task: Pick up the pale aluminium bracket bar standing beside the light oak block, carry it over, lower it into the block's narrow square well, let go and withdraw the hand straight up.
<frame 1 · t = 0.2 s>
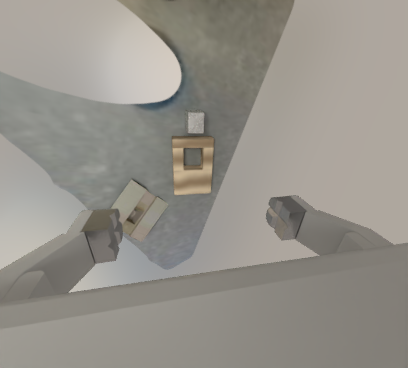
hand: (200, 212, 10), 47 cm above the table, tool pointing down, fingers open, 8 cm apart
beige slotted box: (139, 203, 62), on the table
metal bracket bar: (192, 118, 52), on the table
oak well block: (191, 164, 59), on the table
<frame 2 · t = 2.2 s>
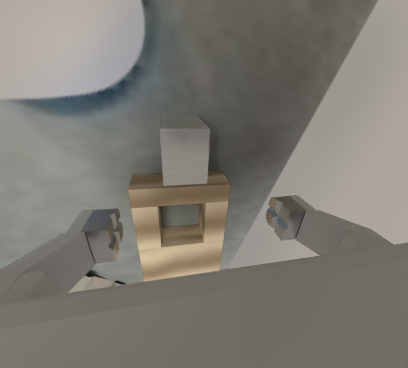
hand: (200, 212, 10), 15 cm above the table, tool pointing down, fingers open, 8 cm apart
beige slotted box: (82, 292, 33), on the table
metal bracket bar: (178, 135, 22), on the table
oak well block: (180, 223, 29), on the table
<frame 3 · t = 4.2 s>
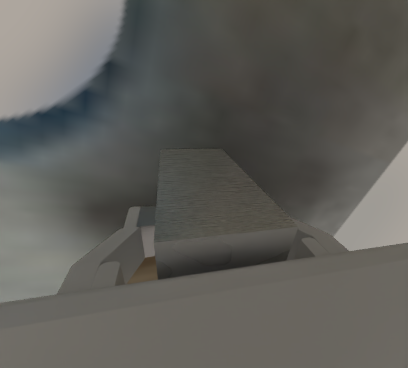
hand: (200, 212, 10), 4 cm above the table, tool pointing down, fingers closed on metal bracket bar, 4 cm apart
metal bracket bar: (191, 182, 13), on the table, touching gripper
oak well block: (190, 299, 19), on the table
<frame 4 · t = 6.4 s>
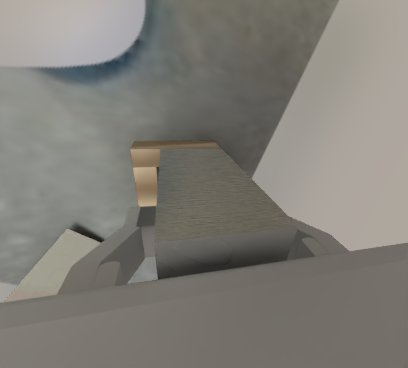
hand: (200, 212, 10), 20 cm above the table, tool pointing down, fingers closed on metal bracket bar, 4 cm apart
beige slotted box: (90, 259, 36), on the table
metal bracket bar: (191, 182, 13), point 16 cm above the table, touching gripper
oak well block: (177, 191, 32), on the table
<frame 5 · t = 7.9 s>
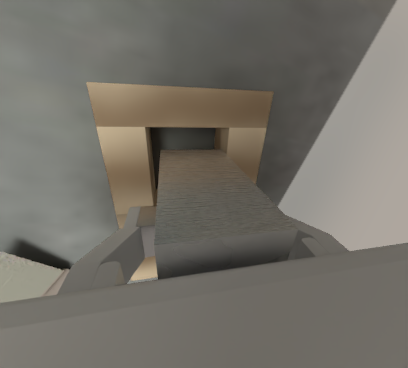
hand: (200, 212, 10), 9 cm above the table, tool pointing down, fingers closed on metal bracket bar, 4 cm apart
beige slotted box: (50, 292, 23), on the table
metal bracket bar: (191, 183, 13), point 6 cm above the table, touching gripper
oak well block: (184, 183, 19), on the table
when the fingers open (6 cm above the table, at t = 9.0 s): metal bracket bar drops 2 cm, resting in oak well block.
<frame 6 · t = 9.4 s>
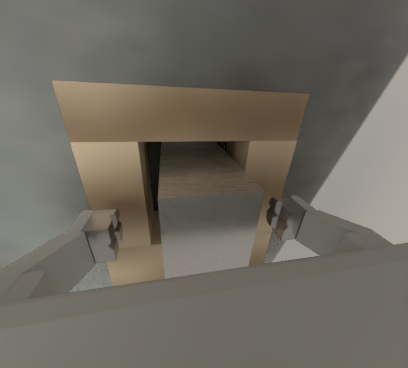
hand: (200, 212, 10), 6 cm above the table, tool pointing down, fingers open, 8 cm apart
metal bracket bar: (188, 171, 15), resting in oak well block
oak well block: (188, 203, 16), on the table
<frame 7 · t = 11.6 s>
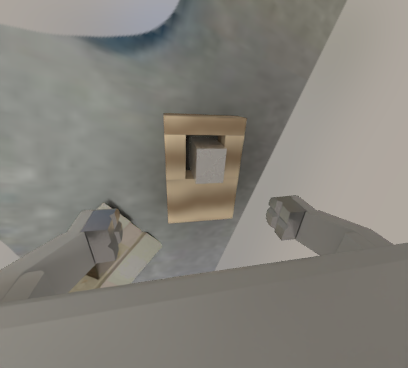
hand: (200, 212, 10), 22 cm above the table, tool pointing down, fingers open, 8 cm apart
beige slotted box: (114, 239, 36), on the table
metal bracket bar: (200, 150, 31), resting in oak well block
oak well block: (199, 167, 33), on the table
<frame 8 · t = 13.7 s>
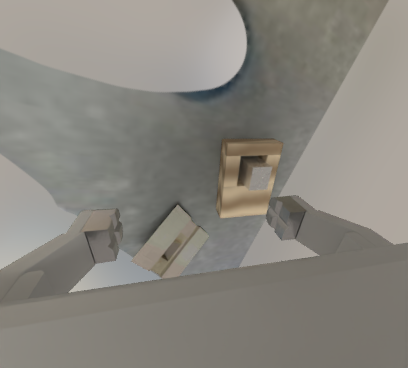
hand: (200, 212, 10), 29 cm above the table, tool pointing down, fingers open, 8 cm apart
beige slotted box: (174, 231, 48), on the table
metal bracket bar: (244, 164, 42), resting in oak well block
oak well block: (242, 176, 43), on the table
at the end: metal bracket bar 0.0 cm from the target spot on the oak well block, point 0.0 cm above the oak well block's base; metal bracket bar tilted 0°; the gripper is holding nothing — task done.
